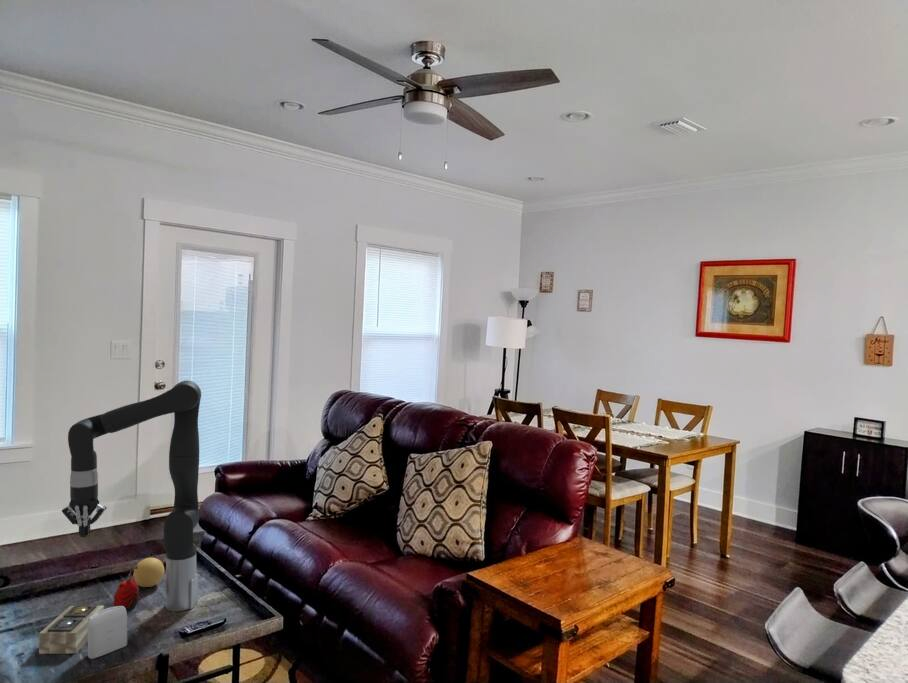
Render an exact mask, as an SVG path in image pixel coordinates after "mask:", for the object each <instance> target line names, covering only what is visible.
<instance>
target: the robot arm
mask: <svg viewBox="0 0 908 683" xmlns="http://www.w3.org/2000/svg"><path fill="white" fill-rule="evenodd" d="M201 398H202V391H201V388H200V386H199V385H198V384H197V383H196V382H194V381H193V380H182V381H180V382H178V383H176V384H175V385H174V386H173V387H172V388H171V389H168V390H167V391H165V392H163V393H161V394H159V395H157V396H154V397H152V398H149V399H145V400H143V401H137V402H133V403H130V404H126V405H123V406H120V407H117V408H114V409H111V410H108V411H106V412H105V413H102V414H97V415H94V416H90V417H87V418H83V419H82V420H79V421H77V422H75V423H74V424H72V426H70V428H69V430H68V433H67V444H68V448H69V449H68V450H69V453H70V456H71V457H70V476H69V490H70V492H69V496H70V501H69V502H68V506H65V507H64V508H63V509H62V510H61V512H62V514H63V516H65V517H66V519H67V520H68V521H69V522H70V523H71V525H77V526H78V536H80V538H87V537H88V536H89V535H90V534H91V525H93V524H94V523H95V522H97V521H98V520H99V519H100V517H101V516H102V515H103V514H104V513H105V511H106V510H107V506H105V505H104V506H102V505H101V504H100V500H99V474H98V457H97V452H96V451H95V450H94V448H95V447H94V440H95V439H97V438H99V437H101V436H104V435H107V434H114V433H117V432H120V431H123V430H125V429H126V430H127V429H128V428H130V427H133V426H137V425H139V424H141V423H144V422H146V421H149V420H151V419H155V418H157V417H160V416H165V415H169V414H173V415H174V417H173V418H174V420H173V421H174V422H173V429H172V433H171V437H170V442H169V452H168V470H169V475H170V478H171V481H172V483H173V487H174V488H173V489H174V498H173V499H174V501H173V508H172V511H171V512H170V513H168V515H167V516H166V517H165V519H164V522H163V548H164V551H165V609H166V610H167V611H170V612H182V611H186V610H192V609H193V608H194V606H195V605H196V604H197V602H198V600H199V598H198V597H199V573H197V545H196V543H194V529H195V528H196V527H197V525H198V523H199V521H200V506H199V496H198V485H199V473H200V469H199V467H200V435H199V434H200V432H199V412H200V403H201V400H202V399H201ZM93 512H95V514H94V515H93Z"/></svg>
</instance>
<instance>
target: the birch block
mask: <svg viewBox="0 0 908 683" xmlns="http://www.w3.org/2000/svg"><path fill="white" fill-rule="evenodd" d="M82 606H85V607H87V611H86V612H85V613H84V614H73V610H74V609H75V608H78V607H82ZM104 609H105V605H97V604H75V605H70V606H68V607H67V608H66V609H65V610H63V612H62V613H60V614H59V615H58V616H57V617H56V618H55V619H53V620H52V621H51V622H50V623H49V624H48V625H47V626H46V627H44V628H43V629H42V630H41V631H40V632H39V633H38V635H39V636H38V644H39V645H38V646H39V647H38V649H39V650H38V653H39V654H40V655H46V654H47V655H49V654H50V655H52V654H54V655H55V654H58V655H59V654H61V655H62V654H65V655H66V654H77V653H78V652H79V651H80V650H81V649H82V648H83V647H84V645H86V643H88V618H90V617H91V616H92V615H94V614H96V613H98V612H100V611H102V610H104ZM64 620H72V621H73V625H72V626H71V627H70V628H58V623H60V622H61V621H64Z"/></svg>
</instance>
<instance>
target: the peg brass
mask: <svg viewBox="0 0 908 683" xmlns="http://www.w3.org/2000/svg"><path fill="white" fill-rule="evenodd" d="M86 611H87V607H85V606H82V607H78V608H75V609H74V610H73V614H84V613H85V612H86Z"/></svg>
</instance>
